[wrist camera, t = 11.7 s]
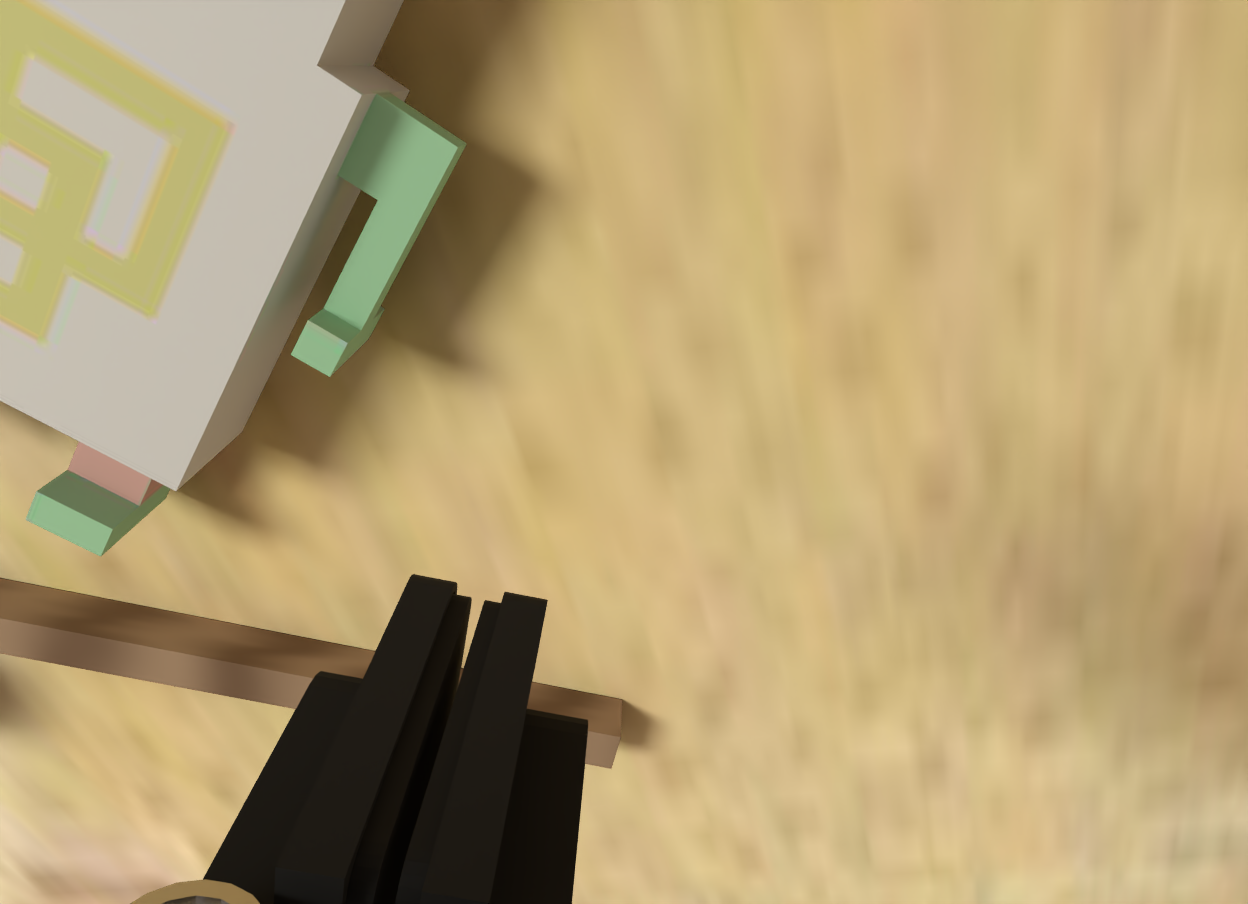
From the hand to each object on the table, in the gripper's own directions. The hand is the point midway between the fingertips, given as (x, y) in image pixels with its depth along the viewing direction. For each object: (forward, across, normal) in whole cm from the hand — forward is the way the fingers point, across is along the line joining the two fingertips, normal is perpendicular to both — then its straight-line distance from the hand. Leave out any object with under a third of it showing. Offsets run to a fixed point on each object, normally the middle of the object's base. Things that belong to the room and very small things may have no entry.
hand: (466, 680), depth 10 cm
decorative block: (+24, +17, 0) cm, 29 cm away
